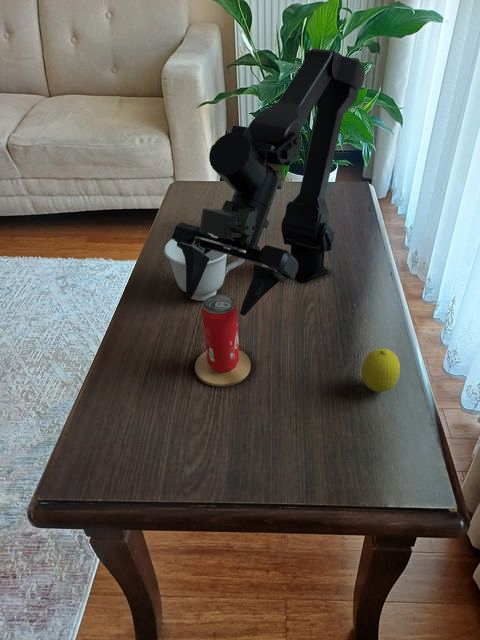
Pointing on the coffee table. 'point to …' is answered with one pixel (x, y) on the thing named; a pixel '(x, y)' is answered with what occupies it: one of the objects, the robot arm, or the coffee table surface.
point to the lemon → (381, 370)
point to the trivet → (222, 379)
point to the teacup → (212, 272)
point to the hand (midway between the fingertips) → (214, 306)
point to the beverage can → (221, 332)
